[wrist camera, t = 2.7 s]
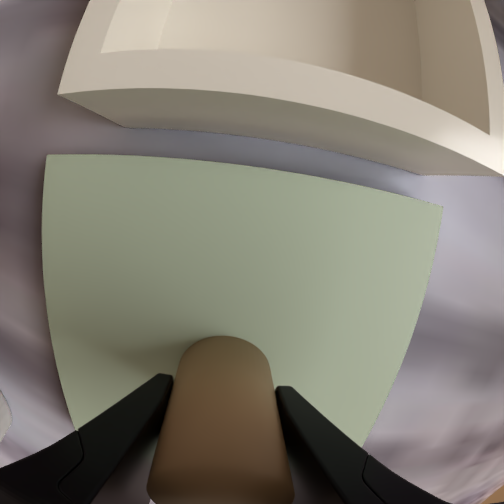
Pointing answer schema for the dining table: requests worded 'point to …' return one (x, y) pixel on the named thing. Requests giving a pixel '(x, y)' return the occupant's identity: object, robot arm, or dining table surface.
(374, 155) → the cream square tray
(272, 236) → the lid
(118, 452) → the robot arm
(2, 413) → the coffee cup
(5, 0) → the dining table surface
